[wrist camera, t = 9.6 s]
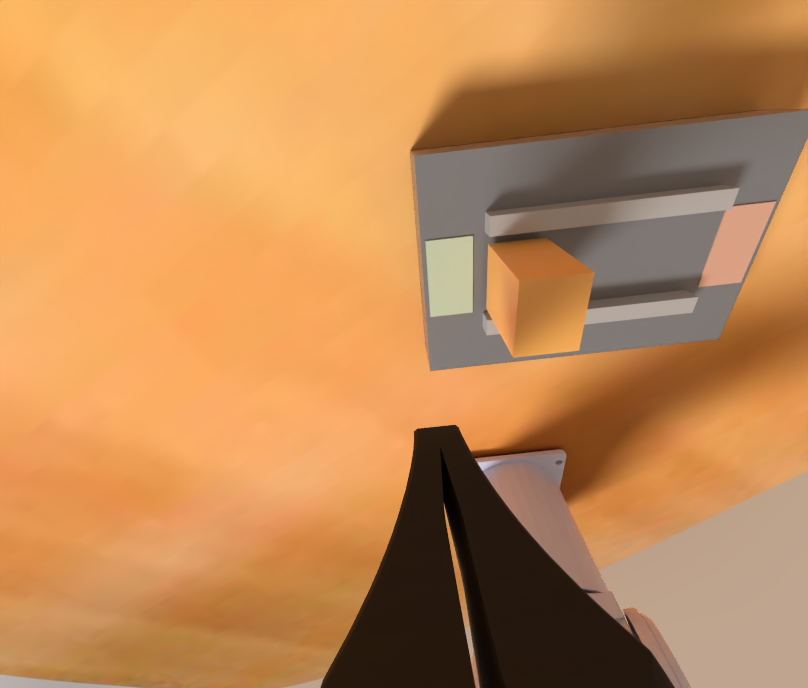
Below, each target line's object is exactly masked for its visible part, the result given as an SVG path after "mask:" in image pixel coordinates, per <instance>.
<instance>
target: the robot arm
mask: <svg viewBox="0 0 808 688" xmlns="http://www.w3.org/2000/svg"><path fill="white" fill-rule="evenodd" d="M566 457H567V456H566V453H565V451H564V450H561V449H557V450H548V451H539V452H529V453H520V454H511V455H501V456H492V457H483V458H474V456H473V455H472V453H471V451H470V450H469V448H468V446H467V444H466V442H465V440H464V438H463V436H462V434H461V432H460V430H459V427H457V426H456V425H449V426H440V427H430V428H421V429H417V430H416V431H414V450H413V457H412V463H411V468H410V473H409V478H408V482H407V487H406V491H405V494H404V498H403V501H402V505H401V508H400V511H399V515H398V518H397V521H396V524H395V527H394V530H393V533H392V536H391V538H390V541H389V544H388V547H387V549H386V552H385V554H384V557H383V559H382V562H381V564H380V567H379V569H378V571H377V574H376V576H375V579H374V581H373V583H372V585H371V588H370V590H369V592H368V594H367V596H366V598H365V600H364V602H363V604H362V607H361V609H360V611H359V613H358V615H357V617H356V619H355V621H354V623H353V625H352V627H351V629H350V631H349V633H348V635H347V637H346V639H345V641H344V642H343V644H342V646H341V648H340V650H339V652H338V653H337V655H336V657H335V659H334V661H333V663H332V664H331V666H330V668H329V670H328V672H327V674H326V675H325V677H324V679H323V682H322V685H321V688H691V687H690V685H689V683H688V681H687V679H686V677H685V676H684V674H683V672H682V670H681V669H680V666H679V665H678V663H677V661H676V659H675V657H674V656H673V654H672V652H671V650H670V649H669V647H668V645H667V643H666V642H665V640H664V638H663V637H662V635H661V633H660V632H659V630H658V629H657V627H656V626H655V624H654V623H653V622H652V620H651V619H650V618H648V617H646V616H645V615H643V614H641V613H639V612H638V611H637V610H636V609H635V608H627V609H623V610H624V614H625V616H626V619H627V621H628V624H629V625H628V624H627V622H626V620H625V618H624V615H623V613H622V611H621V610H620V607H619V605H618V603H617V601H616V599H615V597H614V595H613V593H612V592H611V591H608V589H607V587H606V585H605V583H604V581H603V579H602V577H601V575H600V572H599V570H598V568H597V566H596V564H595V562H594V560H593V558H592V556H591V554H590V552H589V549H588V547H587V545H586V543H585V541H584V539H583V537H582V535H581V533H580V531H579V529H578V526H577V524H576V522H575V520H574V518H573V516H572V514H571V512H570V510H569V508H568V506H567V503H566V501H565V499H564V497H563V495H562V493H561V491H560V485H561V480H562V476H563V471H564V466H565V462H566ZM444 505H445V509H446V513H447V518H448V522H449V526H450V530H451V534H452V538H453V542H454V547H455V551H456V555H457V559H458V563H459V567H460V571H461V576H462V581H463V586H464V591H465V598H466V604H467V610H468V616H469V623H470V629H471V635H472V642H473V648H474V654H473V658H472V661H471V660H470V654H469V649H468V644H467V639H466V634H465V628H464V623H463V617H462V612H461V606H460V601H459V595H458V590H457V584H456V578H455V573H454V567H453V561H452V556H451V550H450V544H449V538H448V533H447V527H446V521H445V512H444ZM629 626H630V627H629Z"/></svg>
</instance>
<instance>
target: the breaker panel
mask: <svg viewBox="0 0 808 688" xmlns="http://www.w3.org/2000/svg"><path fill="white" fill-rule="evenodd" d="M807 138H808V109H788V110H757V111H749V112H740V113H732V114H723V115H714V116H706V117H697V118H689V119H680V120H671V121H663V122H654V123H646V124H637V125H628V126H620V127H611V128H603V129H594V130H585V131H577V132H568V133H560V134H551V135H543V136H534V137H525V138H517V139H508V140H500V141H491V142H482V143H474V144H465V145H457V146H448V147H439V148H431V149H422V150H414V151H410V158H411V170H412V183H413V196H414V208H415V221H416V233H417V246H418V259H419V271H420V284H421V296H422V309H423V322H424V334H425V346H426V351H427V357H428V362H429V367H430V371H434V370H444V369H453V368H462V367H471V366H480V365H489V364H498V363H507V362H516V361H525V360H535V359H544V358H553V357H562V356H571V355H580V354H589V353H598V352H607V351H616V350H625V349H635V348H644V347H653V346H662V345H671V344H680V343H689V342H698V341H707V340H716V339H719V337H720V335H721V333H722V331H723V328H724V326H725V324H726V322H727V319H728V317H729V315H730V312H731V310H732V308H733V306H734V303H735V301H736V299H737V297H738V294H739V292H740V290H741V288H742V285H743V283H744V281H745V278H746V276H747V274H748V272H749V269H750V267H751V265H752V263H753V260H754V258H755V256H756V253H757V251H758V249H759V247H760V244H761V242H762V240H763V238H764V235H765V233H766V231H767V229H768V226H769V224H770V222H771V219H772V217H773V215H774V213H775V210H776V208H777V206H778V204H779V201H780V199H781V197H782V195H783V192H784V190H785V188H786V185H787V183H788V181H789V179H790V176H791V174H792V172H793V170H794V167H795V165H796V163H797V160H798V158H799V156H800V154H801V151H802V149H803V147H804V145H805V142H806V140H807ZM545 237H546V238H548V239H549V240H550V241H552V242H553V243H554V244H556V245H557V246H559V247H560V248H561V249H563V250H564V251H566V252H567V253H568V254H570V255H571V256H573V257H574V258H575V259H577V260H578V261H579V262H581V263H582V264H584V265H585V266H586V267H588V268H589V269H591V270H592V271H593V272H595V273H594V278H593V283H592V288H591V293H590V298H589V303H588V308H587V313H586V318H585V323H584V328H583V333H582V338H581V344H580V349H579V351H571V352H562V353H553V354H544V355H535V356H526V357H517V358H513V357H512V355H511V353H510V351H509V349H508V347H507V346H506V344H505V342H504V340H503V338H502V336H501V335H500V333H499V331H498V329H497V327H496V326H495V324H494V322H493V320H492V318H491V316H490V315H489V313H488V311H487V309H486V299H487V263H488V244H492V243H500V242H509V241H518V240H527V239H536V238H545Z"/></svg>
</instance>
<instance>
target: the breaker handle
mask: <svg viewBox="0 0 808 688" xmlns="http://www.w3.org/2000/svg"><path fill="white" fill-rule="evenodd" d="M594 273H595V272H593V271H592V270H591V269H589V268H588V267H586V266H585V265H584V264H582V263H581V262H579V261H578V260H577V259H575V258H574V257H573V256H571V255H570V254H568V253H567V252H566V251H564V250H563V249H561V248H560V247H559V246H557V245H556V244H554V243H553V242H552V241H550V240H549V239H548V238H546V237H545V238H536V239H527V240H518V241H509V242H500V243H492V244H488V263H487V299H486V309H487V311H488V313H489V315H490V316H491V318H492V320H493V322H494V324H495V326H496V327H497V329H498V331H499V333H500V335H501V336H502V338H503V340H504V342H505V344H506V346H507V347H508V349H509V351H510V353H511V355H512V357H513V358H517V357H526V356H535V355H544V354H553V353H562V352H571V351H579V349H580V344H581V338H582V333H583V328H584V323H585V318H586V313H587V308H588V303H589V298H590V293H591V288H592V283H593V278H594Z"/></svg>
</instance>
